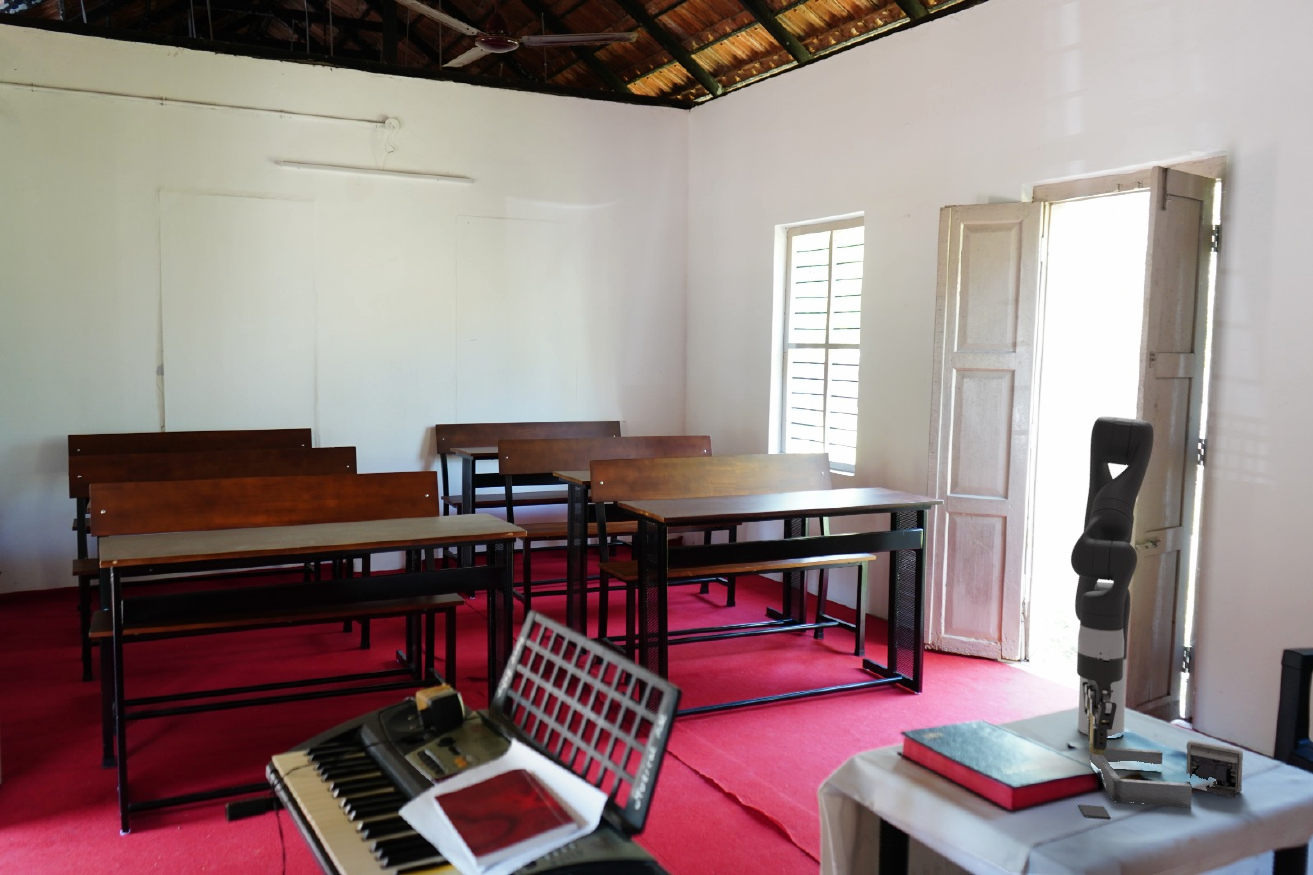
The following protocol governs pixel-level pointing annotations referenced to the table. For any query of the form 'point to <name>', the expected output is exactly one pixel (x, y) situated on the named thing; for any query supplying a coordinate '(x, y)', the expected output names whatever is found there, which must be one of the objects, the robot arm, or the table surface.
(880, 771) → the table surface
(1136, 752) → the bracket
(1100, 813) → the pad
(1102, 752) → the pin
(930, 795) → the table surface
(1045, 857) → the table surface
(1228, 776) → the electrical switch
